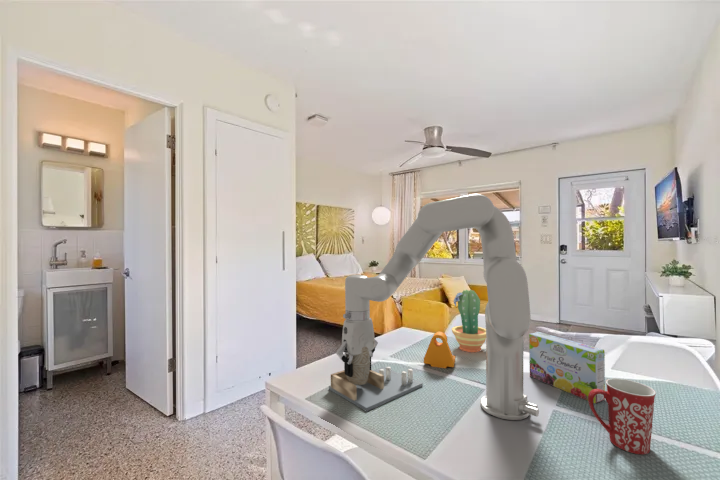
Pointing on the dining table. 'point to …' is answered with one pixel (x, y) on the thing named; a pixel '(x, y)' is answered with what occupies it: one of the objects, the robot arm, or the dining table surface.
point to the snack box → (567, 365)
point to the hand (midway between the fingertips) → (358, 371)
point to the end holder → (349, 389)
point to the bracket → (439, 352)
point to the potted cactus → (469, 322)
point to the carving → (360, 368)
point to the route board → (392, 389)
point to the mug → (627, 414)
